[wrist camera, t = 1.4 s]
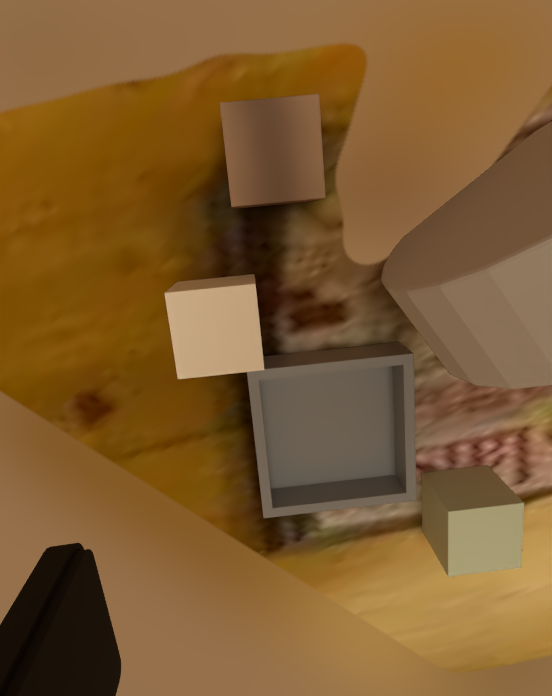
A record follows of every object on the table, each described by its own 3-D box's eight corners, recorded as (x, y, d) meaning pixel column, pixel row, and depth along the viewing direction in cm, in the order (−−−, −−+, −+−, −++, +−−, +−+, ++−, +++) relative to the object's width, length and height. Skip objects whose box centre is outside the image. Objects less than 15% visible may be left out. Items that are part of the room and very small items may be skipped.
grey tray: (399, 342, 39) (413, 353, 36) (402, 478, 43) (416, 500, 39) (246, 358, 39) (246, 371, 36) (262, 494, 42) (263, 518, 39)
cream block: (254, 274, 37) (255, 283, 32) (261, 347, 39) (264, 370, 33) (177, 281, 37) (164, 293, 31) (188, 355, 39) (177, 379, 33)
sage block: (486, 464, 43) (524, 502, 37) (485, 522, 44) (521, 567, 39) (421, 472, 43) (448, 511, 37) (422, 530, 44) (448, 576, 39)
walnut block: (307, 115, 35) (318, 94, 29) (313, 201, 36) (325, 197, 30) (224, 122, 34) (219, 103, 29) (234, 208, 36) (231, 206, 30)
